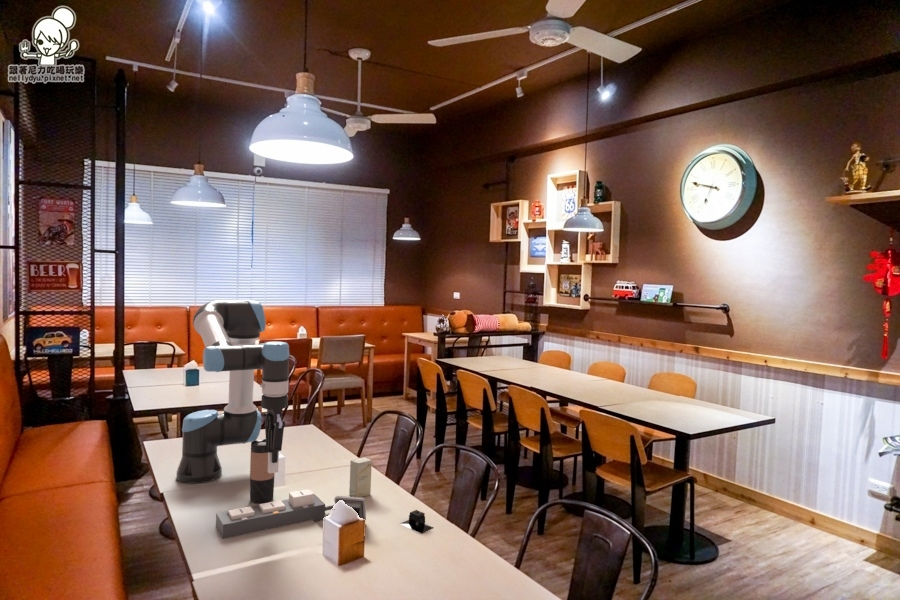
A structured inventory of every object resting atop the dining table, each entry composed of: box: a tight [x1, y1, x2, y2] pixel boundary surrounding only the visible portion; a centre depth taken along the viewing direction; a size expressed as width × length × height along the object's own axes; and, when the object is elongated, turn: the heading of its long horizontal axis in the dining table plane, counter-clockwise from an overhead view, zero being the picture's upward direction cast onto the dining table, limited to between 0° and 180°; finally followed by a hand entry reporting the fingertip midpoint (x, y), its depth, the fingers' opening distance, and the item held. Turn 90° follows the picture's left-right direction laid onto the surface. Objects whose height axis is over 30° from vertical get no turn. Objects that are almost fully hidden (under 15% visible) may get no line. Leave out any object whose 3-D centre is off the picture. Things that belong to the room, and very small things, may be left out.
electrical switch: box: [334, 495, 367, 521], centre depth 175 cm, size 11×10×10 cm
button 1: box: [227, 505, 254, 520], centre depth 169 cm, size 4×6×5 cm
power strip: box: [215, 493, 335, 539], centre depth 175 cm, size 9×36×5 cm, turn 124°
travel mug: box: [249, 438, 275, 505], centre depth 189 cm, size 8×8×20 cm
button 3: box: [288, 488, 315, 508], centre depth 179 cm, size 4×6×5 cm
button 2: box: [258, 499, 285, 514], centre depth 174 cm, size 4×6×5 cm
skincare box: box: [348, 456, 373, 498], centre depth 199 cm, size 6×4×12 cm
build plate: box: [399, 509, 434, 534], centre depth 177 cm, size 12×7×5 cm, turn 49°
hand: (272, 472), depth 173 cm, fingers closed
